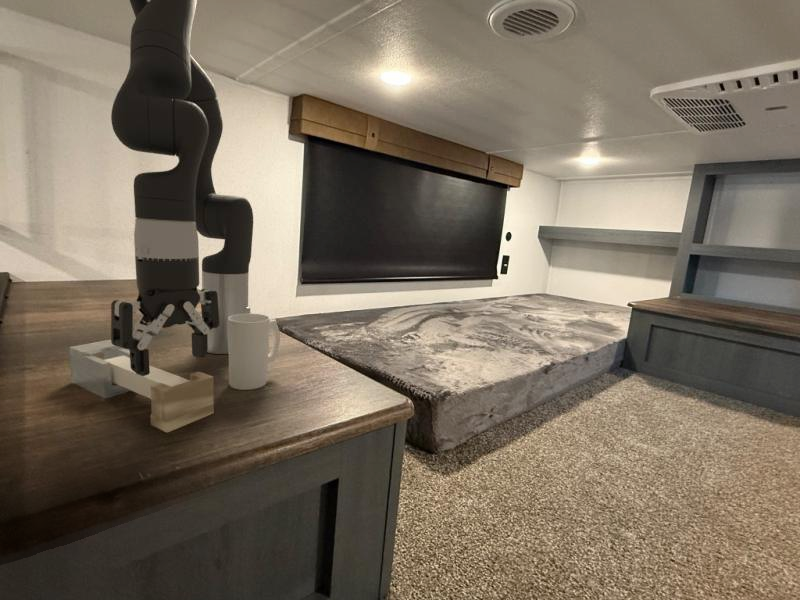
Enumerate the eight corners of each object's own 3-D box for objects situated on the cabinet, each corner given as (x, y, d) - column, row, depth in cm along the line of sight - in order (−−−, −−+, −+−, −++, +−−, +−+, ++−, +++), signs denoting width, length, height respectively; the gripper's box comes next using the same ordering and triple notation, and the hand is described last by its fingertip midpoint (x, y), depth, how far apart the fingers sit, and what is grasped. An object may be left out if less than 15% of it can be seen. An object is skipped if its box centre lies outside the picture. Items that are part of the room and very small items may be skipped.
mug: (242, 394, 65) (243, 324, 62) (219, 383, 68) (219, 316, 66) (290, 378, 73) (292, 316, 71) (267, 369, 76) (268, 309, 74)
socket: (150, 424, 53) (149, 385, 52) (198, 406, 59) (197, 371, 58) (167, 432, 51) (166, 392, 50) (213, 413, 58) (213, 376, 57)
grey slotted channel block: (71, 382, 64) (69, 347, 63) (111, 372, 69) (109, 339, 68) (105, 398, 59) (103, 360, 58) (144, 386, 64) (143, 351, 63)
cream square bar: (103, 378, 61) (102, 360, 61) (124, 372, 64) (123, 355, 64) (174, 409, 53) (174, 389, 53) (194, 402, 56) (194, 382, 56)
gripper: (196, 249, 61) (199, 347, 64) (93, 252, 49) (102, 374, 52) (230, 254, 58) (231, 357, 61) (129, 258, 45) (136, 388, 48)
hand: (172, 365), depth 56 cm, fingers open, 8 cm apart
